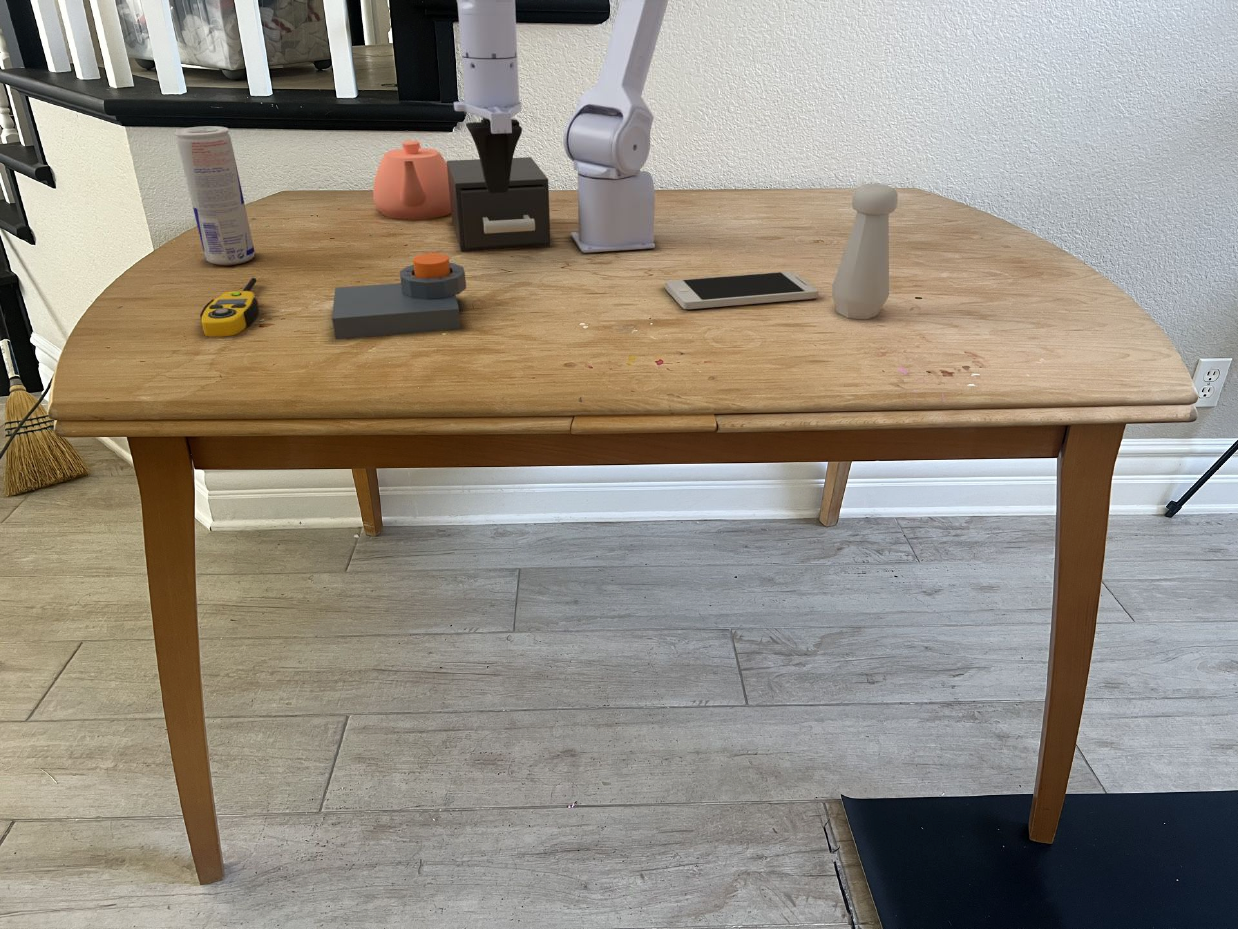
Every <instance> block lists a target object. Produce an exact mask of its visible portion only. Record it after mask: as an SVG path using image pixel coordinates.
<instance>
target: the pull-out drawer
mask: <svg viewBox="0 0 1238 929" xmlns="http://www.w3.org/2000/svg"><path fill="white" fill-rule="evenodd" d="M461 202H462V213H463V225H464V237H465V246H466V248H470V247H485V246H501V245H517V244H533V243H547V219H546V190H545V187H544V186H540V187H537V185H529V186H509V187H508V191H507V192H504V193H489V192H488V189H487V188H467V189H461Z"/></svg>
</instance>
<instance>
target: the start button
mask: <svg viewBox="0 0 1238 929" xmlns="http://www.w3.org/2000/svg"><path fill="white" fill-rule="evenodd" d="M412 263H413V264H412V265H414V273H415V276H416V277H419V278H440V277H444V276H447V275H449V274H450V266H449V263H450V258H449V256H448V255H446V254H443V253H437V252H433V253H431V252H430V253H429V252H428V253H423V254H418V255H416V256H414V257H413V258H412Z"/></svg>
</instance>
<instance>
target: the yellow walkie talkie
mask: <svg viewBox="0 0 1238 929" xmlns="http://www.w3.org/2000/svg"><path fill="white" fill-rule="evenodd" d="M256 283H257V278H256V277H251V278H250V279H249V281H248V283H247V284H246V285H245V287H244V288H243V290H238V291H237V290H236V291H235V290H234V291H227V292H224V293H222V294H221V295H219V296H217V297H216V298H215V299H214V298H212V299H211V300H210V301H208V302H207V303H206V305H205V306H203V308H202V310H201V312H200V315H199V316H200V322H201V327H202V331H203V333H204V335H205V336H206V337H211V338H217V337H218V338H219V337H221V338H222V337H223V338H224V337H232V336H235V335H237V334H239V333H241V332H242V331H244V330H245V328H246V329H247V328H249V327H251V325H252V324H254V322H255V321H256V320H257V317H258V315H259V306H258V305H259V302H258V299H257V298H256V297H255V293H254V292H253V291H251V290H252V289H253V287H254V286H255V284H256Z"/></svg>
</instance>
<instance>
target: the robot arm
mask: <svg viewBox="0 0 1238 929" xmlns="http://www.w3.org/2000/svg"><path fill="white" fill-rule="evenodd" d="M456 3H457V14H458V15H457V16H458V26H459V40H460V53H461V64H462V65H461V67H462V79H463V80H462V81H463V93H464V95H463V96H464V101H454V102H453V109H454V111H455V112H465V113H467V114H470V115H474V116H477V117H479V118H482V119H480V121H474V122H473V121H472V122H467V123H465V127H466V128H467V131H468V132H469V134H470V136H471V138H472V140H473V143H474V145H475V148H476V151H477V154H478V157H479V158H478V159H480V162H481V167H482V171H483V176H484V180H485V183H486V187H487V189H488V192H489V193H504V192H507V191H508V187H509V182H510V174H511V166H512V160H513V158H514V155H515V151H516V148H517V145H518V142H519V139H520V138H521V135H522V132H523V127H522V126H521V125H520V122H519V121H518V119H515V118H514V116H516V115H517V114H519V113H521V111H522V102H521V101H520V83H519V82H520V81H519V62H518V61H519V60H518V43H517V42H518V41H517V40H518V39H517V18H516V16H517V15H516V0H456ZM668 4H669V0H620V1H619V3H618V8H617V11H616V14H615V19H614V22H613V26H612V29H611V34H610V37H609V40H608V44H607V48H606V51H605V55H604V58H603V62H602V66H601V70H600V74H599V77H598V81H597V83H595V84H594V85H593V86H592V87H590V88H589V89H588V90H587V91H585V92H584V93H583V94H582V95H581V96H579V97H578V102H577V104H576V108H575V110H574V111H573V114H572V115H571V116H570V118H569V119H568V121H567V122H566V125H565V128H564V130H563V131H564V132H563V148H564V151H565V154H566V156H567V157H568V159H569V160H571V162H573V171H576V172H577V212H578V213H577V214H578V215H577V218H578V222H577V223H578V231H572V232H570V237H571V238H572V240H573V242H575V244H576V245H577V247H578V248H579V250H580V251H581V253H584V254H585V253H587V254H588V253H601V252H602V253H603V252H616V251H618V252H619V251H631V250H633V251H634V250H646V249H648V250H649V249H655V248H656V244H655V242H654V240H655V239H654V238H655V210H656V209H655V208H656V207H655V206H656V194H655V192H656V191H655V183H654V180H653V176H652V174H651V172H649V171H647V170H642V168H643V167H644V166H645V163H646V162H647V160H648V158H649V154H650V149H651V129H652V126H653V122H654V115H653V113H652V111H651V110H650V108H649V107H648V105H647V104H646V102H645V101H644V99H643V97H642V95H643V91H644V88H645V84H646V81H647V77H648V74H649V70H650V67H651V63H652V59H653V57H654V53H655V50H656V46H657V42H658V39H659V35H660V32H661V29H662V25H663V21H664V17H665V14H666V10H667V7H668Z"/></svg>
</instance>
